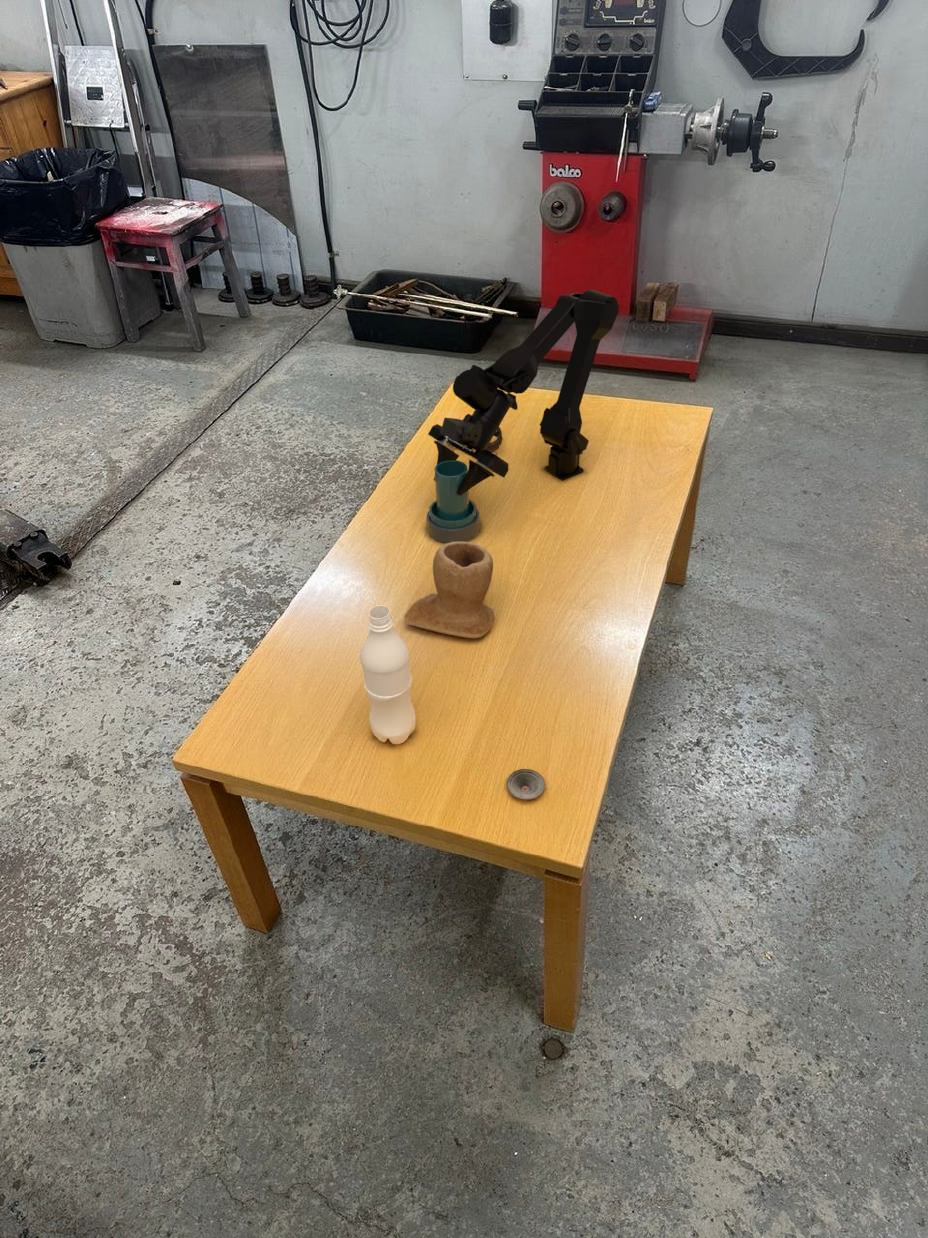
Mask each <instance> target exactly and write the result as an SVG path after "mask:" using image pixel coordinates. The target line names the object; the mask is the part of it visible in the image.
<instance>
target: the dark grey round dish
mask: <svg viewBox="0 0 928 1238" xmlns="http://www.w3.org/2000/svg"><path fill="white" fill-rule="evenodd" d="M506 788H507V790H508V792H509V793H510V794H511V795H512V796H513V797H514V798H517V799H520V800H528V801H529V800H534V799H536V798H538V797H539V796H541V795H542V794H543V792H544V791H545V788H546V781H545V779H544V776H542V774H540V772H538V771H536V770H534V769H530V768H520V769H516V770H514V771H512V772H511V774H509V776H508V778H507V779H506ZM525 789H526V790H525Z"/></svg>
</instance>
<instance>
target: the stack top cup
mask: <svg viewBox="0 0 928 1238" xmlns="http://www.w3.org/2000/svg"><path fill="white" fill-rule="evenodd" d="M476 508H477V505H476V504H475V502H474V501H472V500H471V499H470V498H469V515H468V516H467V517H466V518H464V519H461V520H456V521H447V520H442V519H440V518H439V517H438V514H437V501H436V500H434V501H432V502H431V504H430V505H429V509H428V511H429V518H430V521H431V522H432V523H433V524H434V525H436V526H438V527H440V528H445V529H458V528H463V527H466V526H468V525H470V524H471V523H473V522H474V521H475V519H476Z"/></svg>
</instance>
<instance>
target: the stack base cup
mask: <svg viewBox="0 0 928 1238" xmlns="http://www.w3.org/2000/svg"><path fill="white" fill-rule="evenodd" d="M480 523H481V522H480V511H479V509H478V508H477V507H476V519H475V521H474V522H473V523H471V524H470V525H468V526H466V527H463V528H458V529H445V528H440V527H438V526H436V525H434V524H433V523H432V522H431V521H430V518H429V510H428V511H427V513H426V530H427V533H428V535H429V537H430V538H431V539H433V540H434V541H435V542H438V543H441V544H447V543H450V542H469V541H471V540H474V538H476V537H477V535H478V534H479V532H480V525H481V524H480Z"/></svg>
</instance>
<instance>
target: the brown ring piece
mask: <svg viewBox="0 0 928 1238" xmlns="http://www.w3.org/2000/svg"><path fill="white" fill-rule="evenodd" d="M497 432H499V433H500V434H499V435H498V437H496V439H494V441H492V442H491V441H490V443H489V444H488V446H487V448H486V449H487V450H488V451H489V452H491V453H493V454H494V453H495V452H496V451H498V450H499V449H500V446H502V443H503V440H504V439H503V433H502V428H501V427H500V426H499V427H498V429H497ZM464 446H465V445H464ZM465 447H466V446H465Z"/></svg>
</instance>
